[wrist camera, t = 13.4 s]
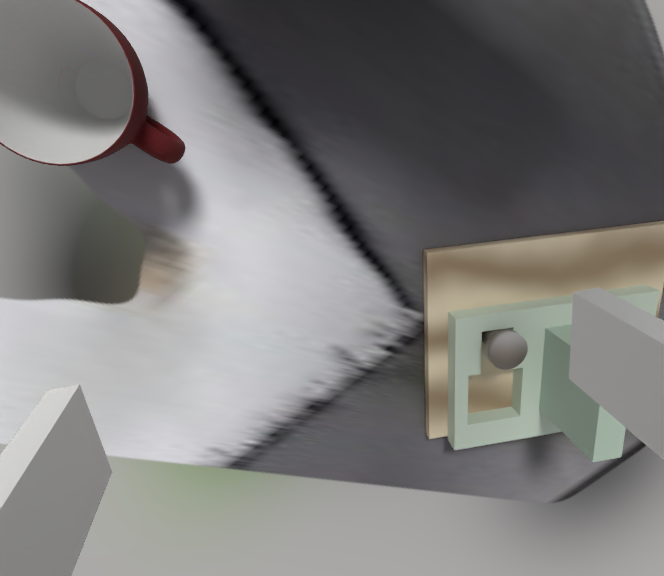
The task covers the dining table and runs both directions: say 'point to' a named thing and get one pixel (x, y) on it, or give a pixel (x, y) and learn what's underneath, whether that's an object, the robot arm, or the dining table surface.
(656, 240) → the boss board
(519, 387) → the panel
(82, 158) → the mug
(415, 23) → the dining table surface
